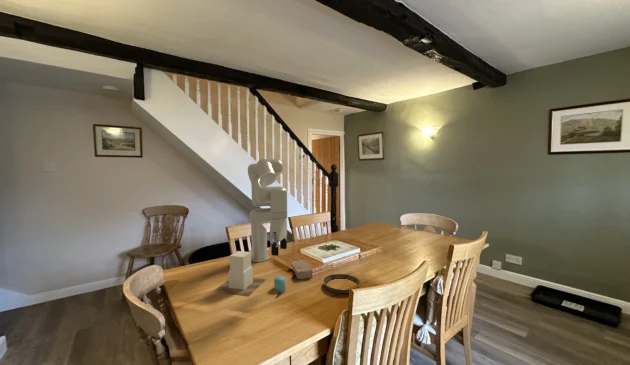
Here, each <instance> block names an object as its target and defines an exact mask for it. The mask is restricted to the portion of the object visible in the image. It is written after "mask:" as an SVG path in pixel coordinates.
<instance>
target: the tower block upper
mask: <svg viewBox="0 0 630 365" xmlns="http://www.w3.org/2000/svg"><path fill="white" fill-rule="evenodd" d="M251 255H252V251H243V250H241V251H240V250H237V251H235V252H234V253H232V254H230V255H229V270H230V271H238V272H244V271H246V270H247V269H248V268H250V267H251V266H252V261H251Z"/></svg>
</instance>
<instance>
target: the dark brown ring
mask: <svg viewBox="0 0 630 365" xmlns="http://www.w3.org/2000/svg"><path fill="white" fill-rule="evenodd" d="M334 279H348V280H351V281H353V282H355V283H356V284H357V287H356V288H357V289H358V288H359V287H360V285H361V281H360V279H359V278H357V277H355V276H353V275H351V274H345V273H335V274H334V273H333V274H330V275H327V276H325V277H324V278H323V280H322V281H323V284H324V286H325V287H326V288H327V289H328V291H330V290H331V292H332V291H333V292H332V293H335V292H336V294H341V293H346V294H350V293H349V291H350V290H351V289H352V288H351V289H346V290H341V289H335V288H331V287H329V286H327V283H328V282H329V281H331V280H334ZM353 289H355V288H353Z"/></svg>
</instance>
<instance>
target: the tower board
mask: <svg viewBox="0 0 630 365" xmlns="http://www.w3.org/2000/svg"><path fill="white" fill-rule="evenodd" d="M266 280H267V278H260V277H254V276H253V283H251V284H250V285H249V286H248V287H247V288H246V289H245V290H242V289H235V288H229V279H228V280H226V281H225V282H223V283H222V284H220V285H219V286H218V287H217V288H215V289H214V290H213V292H215V293H221V294H229V295H235V296H242V297H248V298H249V297H250V296H251V295H252V294H253V293H254V292H255V291H256V290H257V289H258V288H259V287H260V286H261V285H262V284H263V283H264V282H266Z"/></svg>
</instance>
